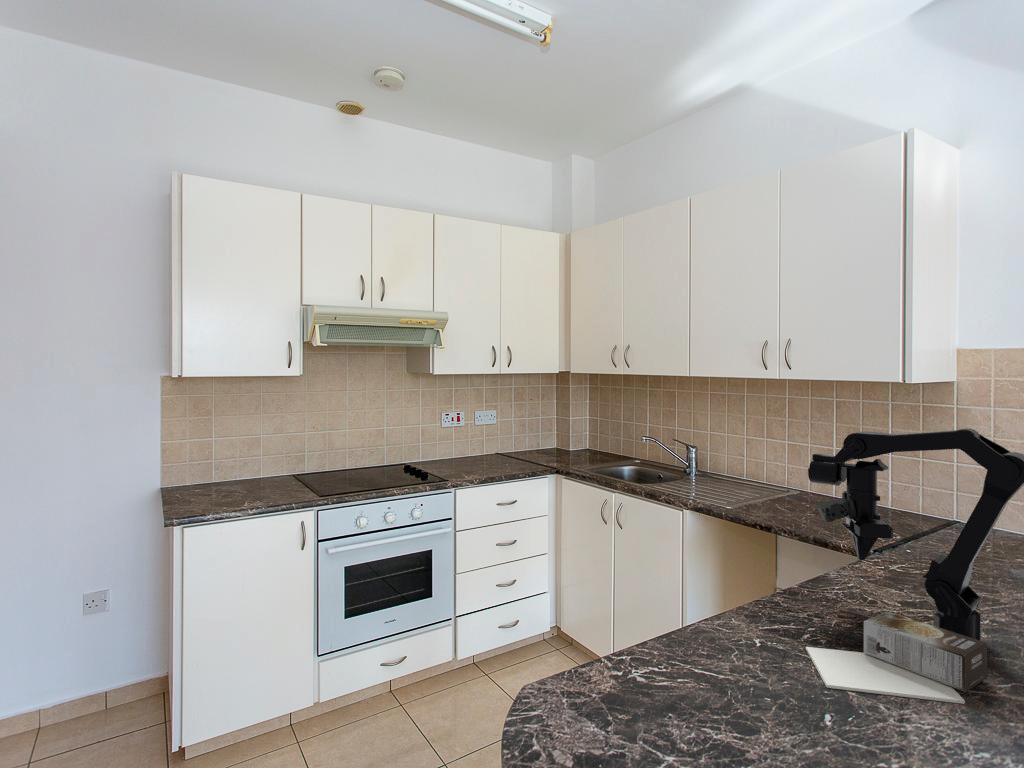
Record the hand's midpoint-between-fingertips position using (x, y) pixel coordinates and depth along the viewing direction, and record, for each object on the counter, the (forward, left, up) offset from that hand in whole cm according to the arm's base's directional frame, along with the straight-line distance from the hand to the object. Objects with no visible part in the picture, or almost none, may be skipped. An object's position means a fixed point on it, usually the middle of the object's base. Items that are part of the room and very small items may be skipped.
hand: (861, 559), depth 127 cm
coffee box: (+3, +18, -8) cm, 20 cm away
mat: (+6, +28, -12) cm, 31 cm away
